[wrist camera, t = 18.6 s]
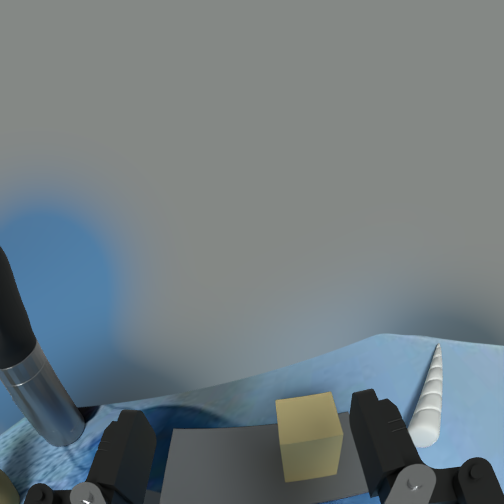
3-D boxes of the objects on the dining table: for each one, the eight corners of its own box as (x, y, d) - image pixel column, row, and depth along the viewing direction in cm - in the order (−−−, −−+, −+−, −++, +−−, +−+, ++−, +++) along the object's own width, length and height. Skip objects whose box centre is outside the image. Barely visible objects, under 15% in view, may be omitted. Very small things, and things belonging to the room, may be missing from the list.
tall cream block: (285, 482, 29) (279, 444, 25) (281, 444, 35) (275, 400, 31) (336, 474, 29) (343, 434, 25) (327, 437, 35) (331, 391, 31)
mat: (160, 507, 26) (158, 506, 26) (174, 430, 39) (173, 428, 39) (371, 491, 25) (372, 490, 25) (347, 413, 38) (348, 411, 38)
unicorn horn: (455, 348, 45) (461, 328, 43) (430, 452, 28) (441, 434, 26) (433, 344, 48) (438, 324, 46) (400, 445, 31) (408, 426, 29)
